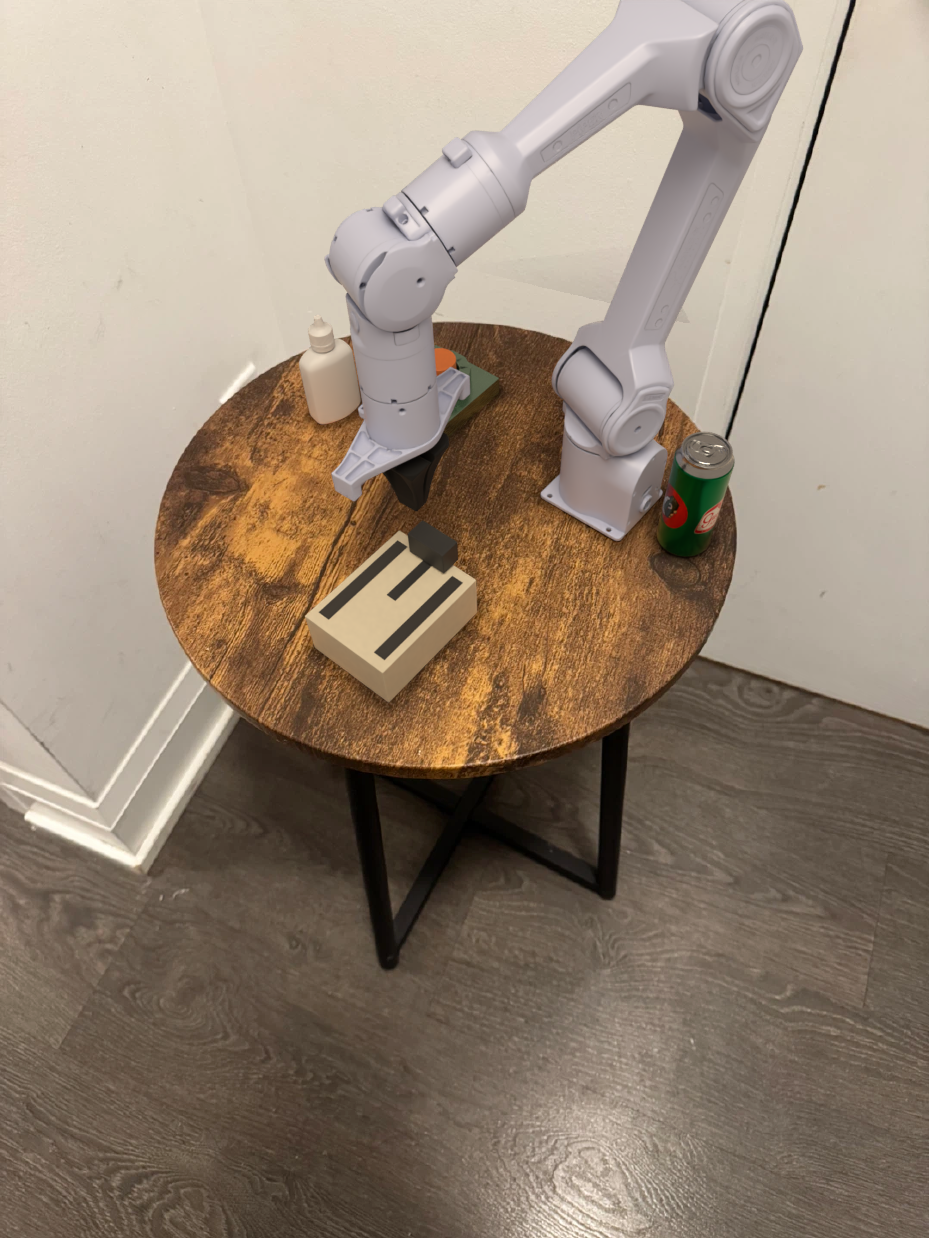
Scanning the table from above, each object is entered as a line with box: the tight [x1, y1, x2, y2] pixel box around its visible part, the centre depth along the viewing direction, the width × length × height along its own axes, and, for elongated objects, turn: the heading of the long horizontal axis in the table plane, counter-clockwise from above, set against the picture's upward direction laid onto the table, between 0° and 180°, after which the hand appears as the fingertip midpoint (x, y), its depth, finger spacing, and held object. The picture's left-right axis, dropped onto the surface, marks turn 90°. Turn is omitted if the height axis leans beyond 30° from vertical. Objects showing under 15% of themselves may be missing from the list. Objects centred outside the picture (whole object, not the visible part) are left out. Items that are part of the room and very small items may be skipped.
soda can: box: [656, 431, 736, 558], centre depth 80 cm, size 5×5×12 cm
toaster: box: [304, 530, 478, 703], centre depth 78 cm, size 9×13×5 cm
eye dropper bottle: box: [298, 314, 362, 425], centre depth 92 cm, size 4×6×12 cm
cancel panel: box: [434, 344, 500, 438], centre depth 95 cm, size 9×9×4 cm
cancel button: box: [434, 347, 456, 376], centre depth 93 cm, size 4×4×2 cm
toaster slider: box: [407, 519, 459, 573], centre depth 77 cm, size 4×2×2 cm, turn 50°
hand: (412, 502), depth 76 cm, fingers closed
